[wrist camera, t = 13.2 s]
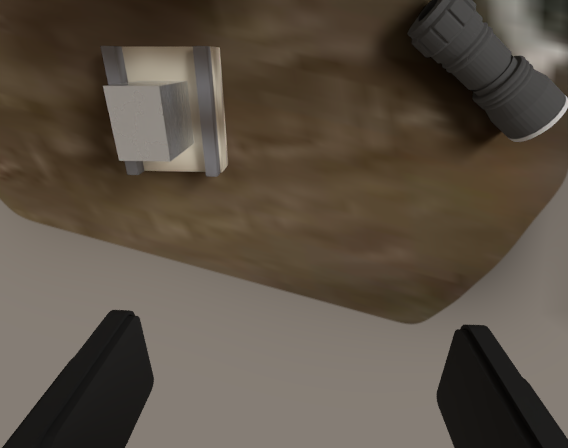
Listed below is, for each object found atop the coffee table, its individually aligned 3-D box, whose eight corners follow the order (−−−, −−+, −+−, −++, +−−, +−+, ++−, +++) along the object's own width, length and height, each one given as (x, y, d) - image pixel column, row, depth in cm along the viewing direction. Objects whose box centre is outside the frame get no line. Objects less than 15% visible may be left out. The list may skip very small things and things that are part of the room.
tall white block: (141, 80, 33) (102, 85, 26) (187, 80, 33) (159, 86, 26) (152, 145, 36) (119, 164, 29) (194, 146, 35) (170, 164, 29)
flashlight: (395, 38, 33) (410, 34, 28) (438, -17, 31) (463, -31, 26) (499, 135, 36) (528, 147, 31) (544, 92, 34) (583, 98, 29)
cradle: (122, 47, 34) (98, 46, 30) (219, 47, 34) (208, 46, 30) (143, 162, 40) (125, 174, 36) (228, 164, 39) (219, 176, 35)
